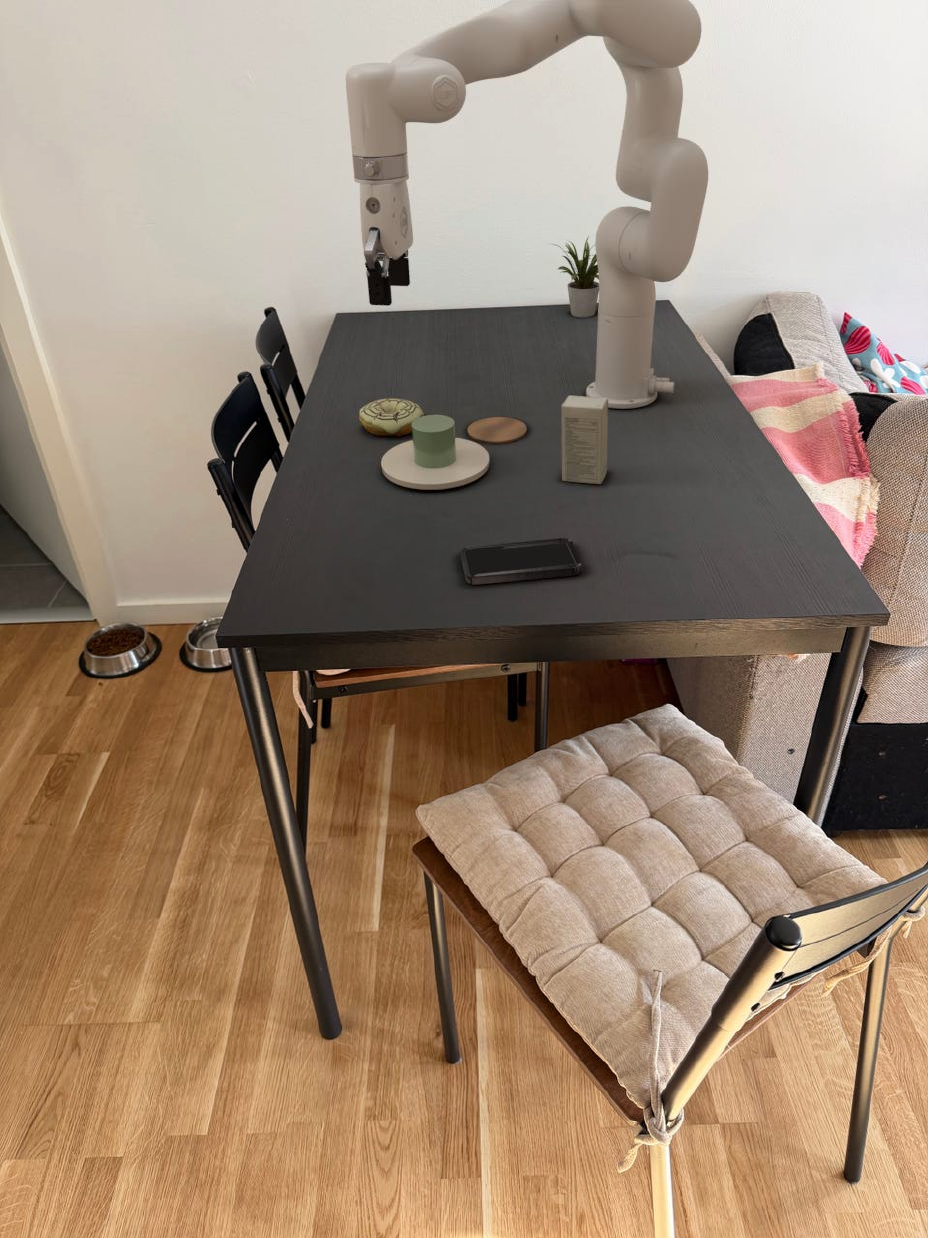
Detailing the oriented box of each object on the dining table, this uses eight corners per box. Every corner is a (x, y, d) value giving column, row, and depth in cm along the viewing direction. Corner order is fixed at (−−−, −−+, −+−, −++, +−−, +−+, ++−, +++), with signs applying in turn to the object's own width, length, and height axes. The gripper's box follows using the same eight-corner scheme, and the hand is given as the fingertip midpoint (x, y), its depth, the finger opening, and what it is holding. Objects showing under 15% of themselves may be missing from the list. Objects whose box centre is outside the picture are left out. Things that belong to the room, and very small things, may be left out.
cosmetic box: (607, 473, 145) (611, 397, 138) (601, 485, 142) (604, 408, 135) (566, 468, 147) (568, 393, 140) (559, 480, 144) (560, 404, 137)
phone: (583, 567, 121) (466, 577, 120) (582, 574, 122) (466, 585, 121) (570, 536, 128) (459, 546, 127) (570, 544, 128) (460, 553, 127)
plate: (503, 451, 153) (503, 442, 152) (469, 499, 140) (468, 489, 139) (406, 440, 158) (405, 431, 157) (364, 485, 145) (363, 476, 144)
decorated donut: (397, 445, 157) (395, 423, 155) (348, 431, 162) (346, 410, 160) (435, 422, 164) (433, 401, 162) (386, 410, 169) (384, 390, 167)
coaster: (533, 422, 162) (533, 420, 162) (516, 446, 155) (517, 444, 154) (478, 416, 165) (478, 414, 165) (459, 439, 158) (459, 437, 157)
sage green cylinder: (462, 452, 150) (460, 416, 146) (447, 470, 145) (445, 433, 141) (423, 447, 152) (421, 412, 148) (407, 465, 147) (404, 429, 143)
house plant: (541, 323, 205) (542, 244, 196) (547, 304, 216) (548, 228, 207) (608, 324, 203) (612, 245, 193) (610, 304, 214) (614, 228, 205)
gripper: (389, 180, 122) (398, 313, 132) (423, 156, 136) (429, 279, 146) (334, 179, 124) (347, 311, 133) (373, 156, 137) (382, 277, 147)
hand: (390, 294), depth 140 cm, fingers open, 9 cm apart
